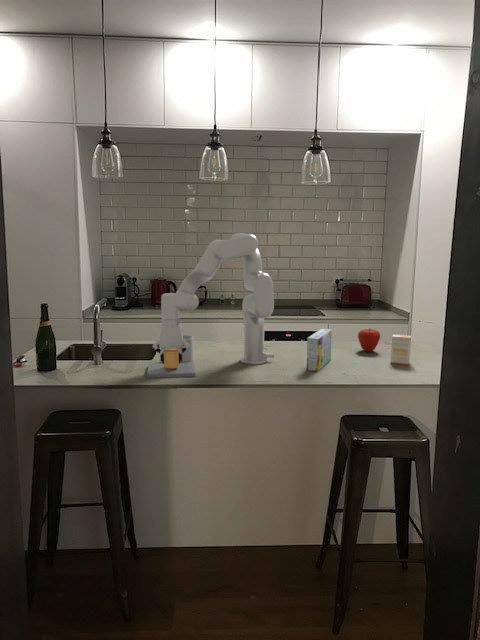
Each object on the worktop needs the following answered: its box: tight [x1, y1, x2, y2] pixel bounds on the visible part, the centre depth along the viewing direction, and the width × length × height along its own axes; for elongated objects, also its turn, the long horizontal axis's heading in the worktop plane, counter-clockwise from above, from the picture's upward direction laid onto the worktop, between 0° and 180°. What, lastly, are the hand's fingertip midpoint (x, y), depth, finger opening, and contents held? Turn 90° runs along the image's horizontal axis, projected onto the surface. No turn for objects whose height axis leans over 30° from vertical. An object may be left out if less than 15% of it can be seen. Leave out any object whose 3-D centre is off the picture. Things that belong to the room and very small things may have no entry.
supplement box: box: [390, 333, 412, 366], centre depth 232 cm, size 8×5×13 cm, turn 65°
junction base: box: [146, 362, 196, 379], centre depth 216 cm, size 20×16×6 cm
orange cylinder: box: [163, 349, 179, 368], centre depth 216 cm, size 6×6×7 cm
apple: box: [357, 328, 381, 353], centre depth 253 cm, size 11×11×12 cm
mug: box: [177, 334, 194, 363], centre depth 236 cm, size 12×8×11 cm
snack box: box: [306, 328, 332, 372], centre depth 227 cm, size 21×6×15 cm, turn 154°
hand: (171, 362), depth 216 cm, fingers closed on orange cylinder, 6 cm apart
